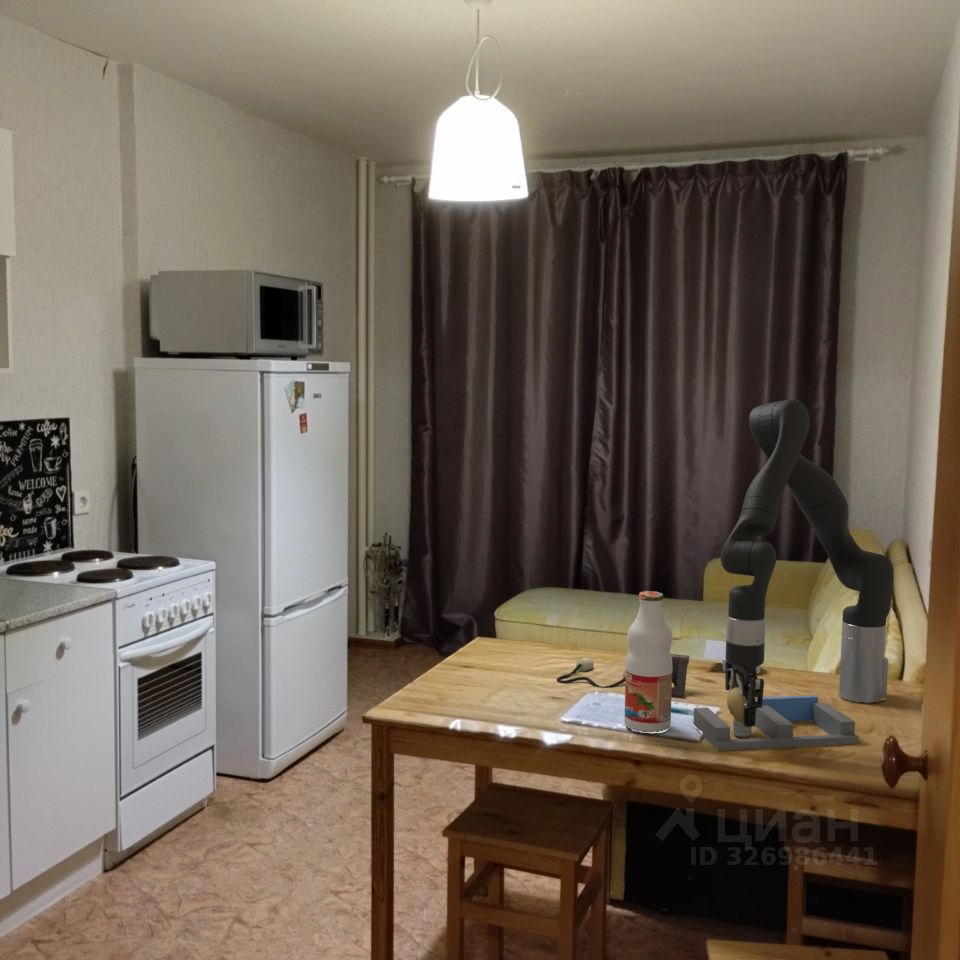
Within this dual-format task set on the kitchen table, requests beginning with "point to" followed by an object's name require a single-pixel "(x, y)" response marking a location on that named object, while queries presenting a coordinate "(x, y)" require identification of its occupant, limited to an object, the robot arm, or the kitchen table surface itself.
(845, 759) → the kitchen table surface
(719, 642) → the wedge on round base
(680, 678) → the portable electronic device stand
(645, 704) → the fruit juice
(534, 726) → the kitchen table surface
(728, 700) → the light bulb
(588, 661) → the cable
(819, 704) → the gray e-shaped frame
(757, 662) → the robot arm
